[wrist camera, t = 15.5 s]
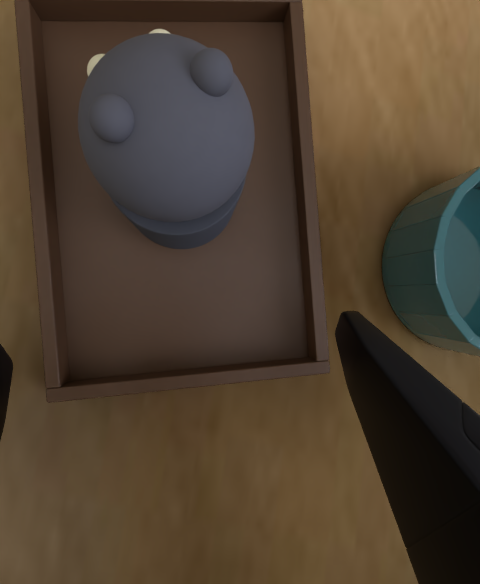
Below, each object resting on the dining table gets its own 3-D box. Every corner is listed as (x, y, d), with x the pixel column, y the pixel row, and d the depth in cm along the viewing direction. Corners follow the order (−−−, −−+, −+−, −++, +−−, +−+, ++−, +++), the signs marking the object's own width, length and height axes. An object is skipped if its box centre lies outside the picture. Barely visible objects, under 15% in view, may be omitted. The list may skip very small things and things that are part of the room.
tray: (318, 365, 22) (330, 373, 20) (61, 392, 20) (46, 403, 18) (291, 16, 21) (301, -12, 19) (30, 15, 20) (12, -16, 18)
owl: (253, 219, 21) (313, 140, 10) (157, 268, 20) (109, 240, 9) (204, 122, 20) (210, -69, 10) (104, 168, 20) (-9, 21, 9)
